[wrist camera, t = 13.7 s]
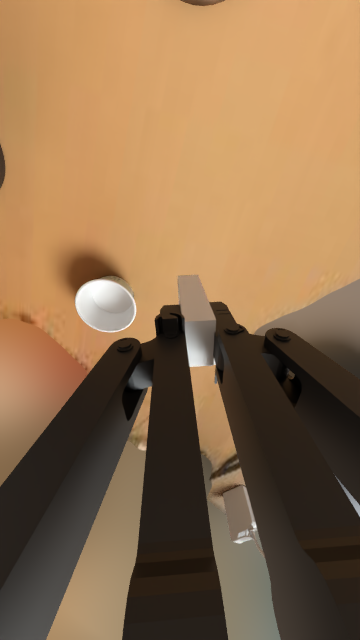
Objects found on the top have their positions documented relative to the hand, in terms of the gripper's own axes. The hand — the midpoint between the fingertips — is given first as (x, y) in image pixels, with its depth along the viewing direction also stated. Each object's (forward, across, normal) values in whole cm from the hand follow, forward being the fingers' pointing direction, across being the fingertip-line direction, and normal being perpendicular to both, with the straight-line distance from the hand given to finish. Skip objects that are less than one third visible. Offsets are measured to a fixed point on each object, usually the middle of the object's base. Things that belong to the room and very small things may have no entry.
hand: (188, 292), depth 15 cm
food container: (+30, -15, -12) cm, 35 cm away
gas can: (+30, +25, -121) cm, 127 cm away
